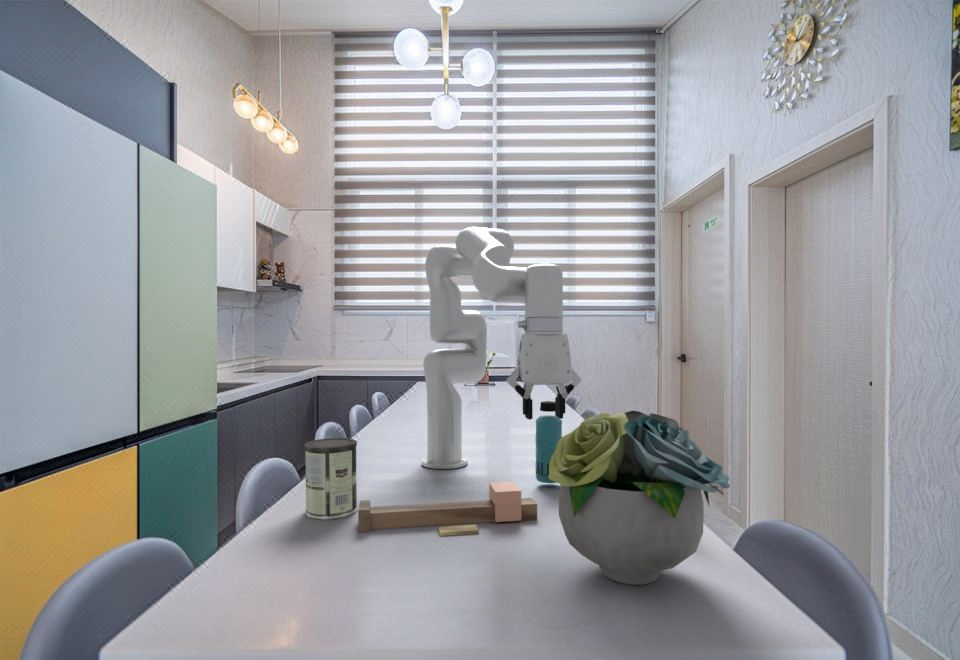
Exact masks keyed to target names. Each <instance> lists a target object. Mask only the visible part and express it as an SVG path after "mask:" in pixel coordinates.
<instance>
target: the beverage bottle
mask: <svg viewBox="0 0 960 660" xmlns="http://www.w3.org/2000/svg"><path fill="white" fill-rule="evenodd" d="M539 411H540V412H547V413H548V412H552V413H553V412H554V413H555V401H550V400H549V401H548V400H545V401H540V407H539ZM562 427H563V420H562V419H560V418H558V417H556V416H555V414H542V415H539V416H538V417H537V418H536V419H535V439H534V441H535V451H534V452H535V478H536V481H538V482H540V483H543V484H556V483H557V482H554V481H552V480H550V479H549V478H548V476H549V463H550V460H551V457H552V455H553V454H554V452H555V450H556V447H557V443H558V441H559V439H561V438H562V437H563V430H562V429H563V428H562ZM557 484H558V483H557Z"/></svg>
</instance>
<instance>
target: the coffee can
mask: <svg viewBox="0 0 960 660" xmlns="http://www.w3.org/2000/svg"><path fill="white" fill-rule="evenodd" d="M357 443H358V441H357V440H356V439H353V438H349V437H329V438H320V439H315V440H314V439H313V440H310V441H308V442H306V443H305V444H304V449H305V451H304V452H305V454H304V456H305V458H304V459H305V461H304V462H305V516H307V517H308V518H310V519H314V520H325V521H326V520H335V519H342V518H346V517H350V516H351V515H353V514H355V513H356V512H358V507H357V506H358V505H357V504H358V502H357V501H358V500H357V497H358V496H357V495H358V492H357V491H358V489H357V445H358V444H357Z"/></svg>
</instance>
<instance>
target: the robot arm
mask: <svg viewBox="0 0 960 660" xmlns="http://www.w3.org/2000/svg"><path fill="white" fill-rule="evenodd" d="M514 244H515V243H514V240H513V238H512V235H511V234H510V233H509V231H506V230H504V229H501V228H490V227H489V228H488V227H480V226H479V227H478V226H470V227H466V228H464V229H462V230H461V231H459V232H458V234H457V235H456V239H455V244H439V245H436V246H432V247H431V248H430V249H429V251H428V252H427V254H426V258H425V263H424V265H425V276H426V280H427V284H428V289H429V296H430V297H429V335H430V339H431V340H432V341H433V342H434V343H436V344H439V345H440V344H441V345H465V348H440V349H435V350H431V351H429V352H428V353H427V354H426V355H425V356H424V358H423V365H422V366H423V373H424V377H425V378H424V379H425V385H426V387H425V388H426V415H427V416H426V427H427V429H426V434H427V435H426V436H427V437H426V440H427V441H426V443H427V444H426V445H427V446H426V447H427V449H426V450H427V451H426V452H427V455H426V457H424V458H422V459H421V465H422V466H423V467H425V468H428V469H434V470H436V469H437V470H452V469H459V468H463V467H465V466H466V465H468V458H467V457H466V456H465V457H464V456H463V452H462V451H463V450H462V449H463V444H462V443H463V441H462V440H463V438H462V437H463V433H462V432H463V431H462V430H463V429H462V426H463V421H462V420H463V419H462V417H463V416H462V415H463V414H462V413H463V412H462V411H463V408H462V406H463V405H462V403H463V402H462V398H461V395H460V393H459V391H458V390H457V389H456V387H455V384H456V385H457V384H466V383H467V384H468V383H469V384H470V383H478V382H480V381H482V379H483V378H484V376H485V374H486V368H487V342H488V341H487V340H488V338H487V336H488V335H487V334H488V333H487V323H486V319H485V317H484V316H483V314H482V312H479V311H478V310H473V309H462V292H461V290H460V288H459V286H458V284H457V283H456V281H455V280H454V279H453V278H458V279H459V278H461V279H472V280H473V281H472V282H473V284H474V287H475V288H476V290H477V291H478V292H480V294H481V295H482V296H483V297H484V298H485V299H487V300H489V301H490V302H494V303H497V304H499V303H500V304H524V318H523V320H521V321H520V320H519V321H517V328H518V329H522V330H523V331H524V333H521V336H520V341H519V348H518V357H517V359H518V360H517V366H516V368H515V369H514V370H513V371H512V372H511V374H510V375H509V376H508V377H507V378H506V380H505V381H506V383H507V384H508V385H509V386H510V387H511V388H513V390H514V391H515V392H516V393H517V394H518V395H519V396H520V397H521V398H522V415H524V416H525V418H526V419H527V420H529V421H530V420H532V419H533V416H534V415H533V409H534V408H533V399H532V398H531V395H532V391H533V390H534V389H533V388H534V386H547V385H548V386H550V385H554V388H555V390H556V396H555V398H554V402H555V411H554V415H555V416H556V417H558V418H560V419H561V420H562V419H564V414H566V399H567V398H568V396H569V395H570V394H571V392H572V391H574V389H575V387H577V386H579V384H580V383H581V382H582V378H581V377H580V376H579V375H578V373H577V372H576V371H575V370H574V369H573V367H572V358H571V357H572V356H571V348H570V342H569V337H568V333H564V332H563V331H564V325H563V324H564V318H563V317H564V312H563V311H564V308H563V307H564V306H563V305H564V304H563V303H564V301H563V299H564V295H563V294H564V293H563V292H564V290H563V289H564V288H563V287H564V286H563V285H564V282H563V281H564V279H563V277H564V276H563V270H562V267H561V266H559V265H557V264H551V263H539V264H532V265H529V266H527V267H519V266H510V262H511V258H512V256H513V254H514V250H515V245H514ZM517 379H518V381H519V382H521V383H523V386H521V385H520V384H519V383H518V382H517Z"/></svg>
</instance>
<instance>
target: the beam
mask: <svg viewBox="0 0 960 660" xmlns="http://www.w3.org/2000/svg"><path fill="white" fill-rule="evenodd" d="M357 512H358V513H357V515H358V518H357V519H358V520H357V521H358V524H357V525H358V529H357V531H358V533H366V532H370V530H383V529H384V530H385V529H400V528H401V529H402V527H403V528H414V527H415V528H417V527H418V526H420V527H431V526H432V527H434V526H433V525H436V526H438V533H439V536H440V537H445V536H446V535H447V536H460V535H462V536H463V535H476V534H479V531H480V530H479V528H478V526H477V524H480V523H484V524H485V523H496V522H495V505H494V503H493V502H492V500H489V499H485V500H484V499H483V500H469V501H467V500H466V501H450V502H432V503H431V502H429V503H415V504H413V503H412V504H411V503H410V504H395V505H394V504H392V505H375V506H371V499H362V500H359V504H358V508H357ZM534 520H538V503H537V502H536V501H535V499H533V497H524V498H523V497H521V521H534ZM428 525H429V526H428Z"/></svg>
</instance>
